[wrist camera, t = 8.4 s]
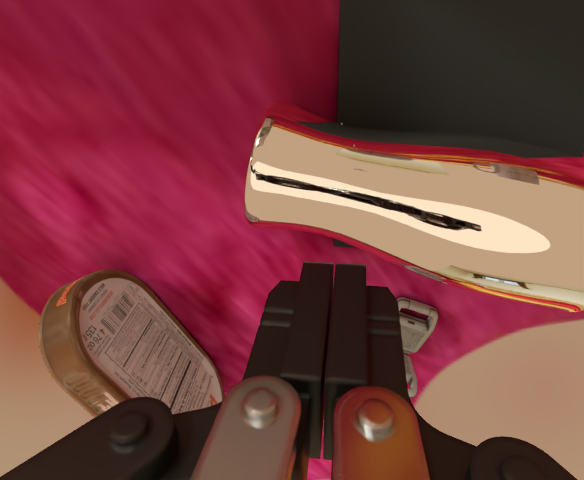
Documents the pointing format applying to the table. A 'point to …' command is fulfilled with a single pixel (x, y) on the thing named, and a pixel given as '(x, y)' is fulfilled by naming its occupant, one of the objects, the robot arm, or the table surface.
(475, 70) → the mat
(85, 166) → the table surface
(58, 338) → the tin
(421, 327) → the strap clip
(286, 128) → the beer glass
